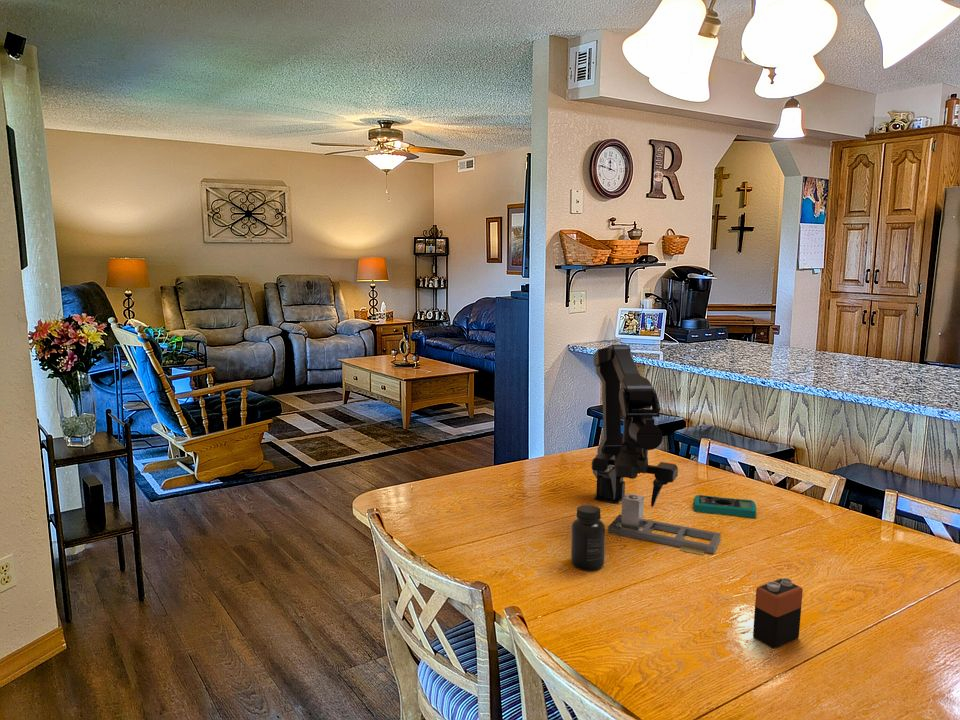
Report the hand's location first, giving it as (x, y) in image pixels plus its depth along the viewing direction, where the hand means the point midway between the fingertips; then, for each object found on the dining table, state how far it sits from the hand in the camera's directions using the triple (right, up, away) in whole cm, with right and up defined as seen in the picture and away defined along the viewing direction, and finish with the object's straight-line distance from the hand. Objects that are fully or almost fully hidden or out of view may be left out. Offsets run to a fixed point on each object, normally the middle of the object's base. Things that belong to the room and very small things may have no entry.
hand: (632, 502), depth 158 cm
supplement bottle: (-13, -9, -17) cm, 23 cm away
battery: (+14, -14, -44) cm, 48 cm away
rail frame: (+7, -7, -3) cm, 10 cm away
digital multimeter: (+26, -5, +14) cm, 30 cm away
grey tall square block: (0, -7, +1) cm, 7 cm away
